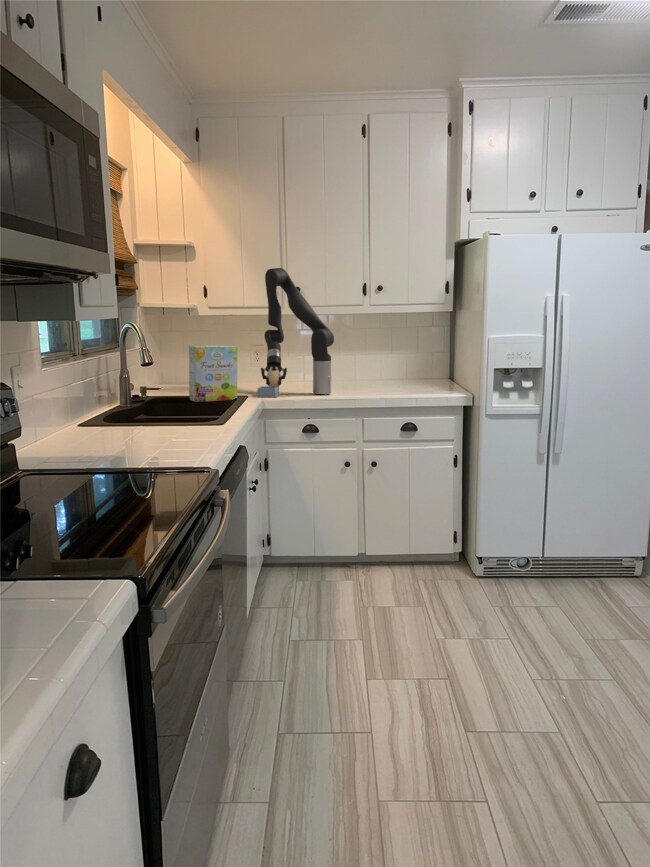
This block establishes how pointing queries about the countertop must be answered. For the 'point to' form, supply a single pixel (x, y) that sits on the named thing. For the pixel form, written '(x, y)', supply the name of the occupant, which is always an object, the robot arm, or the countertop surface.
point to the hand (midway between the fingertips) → (273, 384)
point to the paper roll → (274, 378)
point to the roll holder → (268, 392)
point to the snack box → (212, 373)
